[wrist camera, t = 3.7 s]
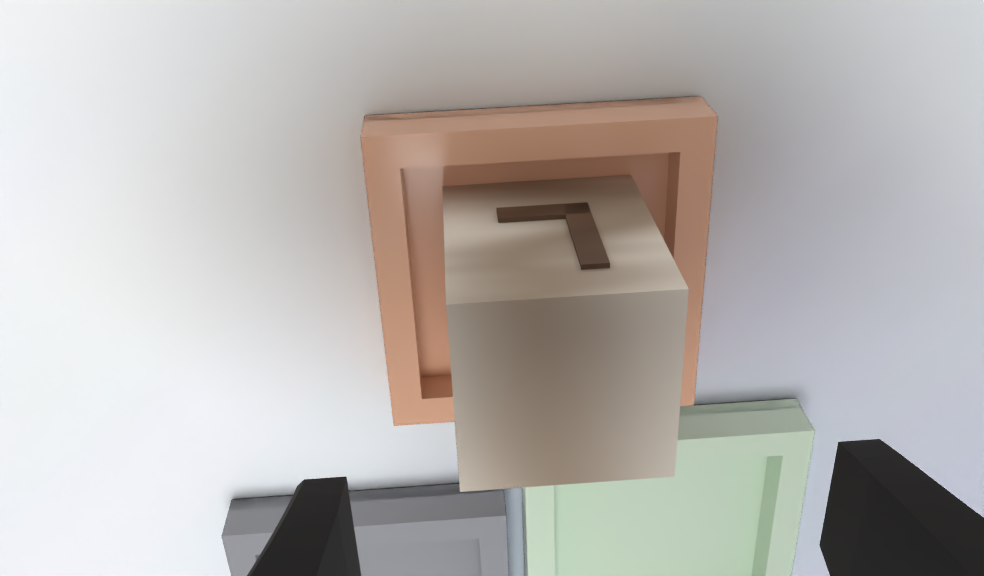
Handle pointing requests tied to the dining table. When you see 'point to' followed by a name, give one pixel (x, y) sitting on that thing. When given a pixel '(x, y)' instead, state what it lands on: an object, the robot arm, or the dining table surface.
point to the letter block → (561, 333)
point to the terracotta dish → (512, 158)
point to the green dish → (685, 503)
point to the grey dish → (394, 531)
